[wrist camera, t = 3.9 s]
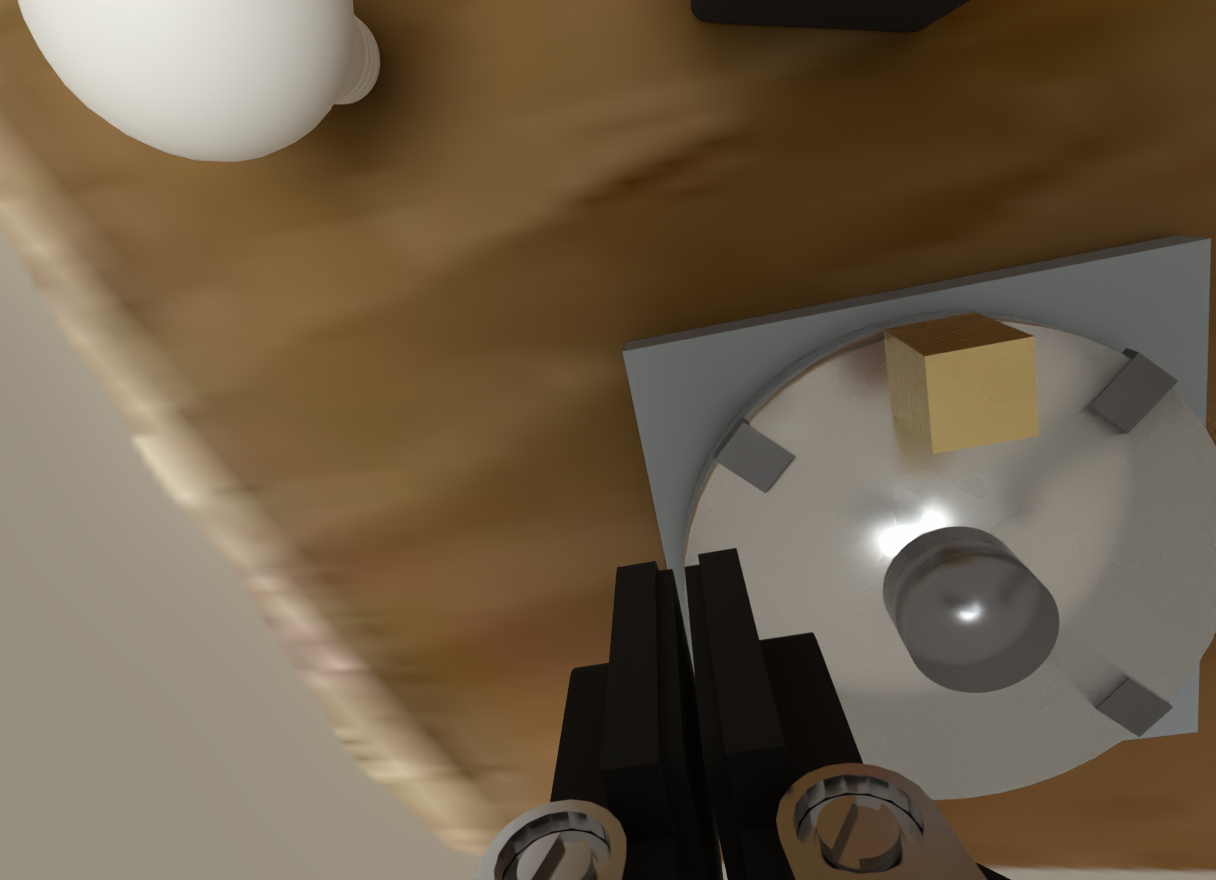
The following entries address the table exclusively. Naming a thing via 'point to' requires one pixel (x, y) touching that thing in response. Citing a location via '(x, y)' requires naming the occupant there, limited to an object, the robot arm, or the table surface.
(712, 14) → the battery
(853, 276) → the table surface
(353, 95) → the lightbulb
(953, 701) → the round tabbed tray
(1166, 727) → the base plate
